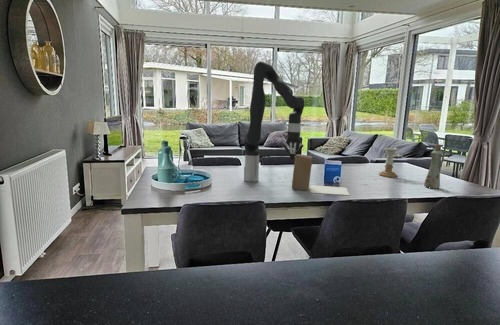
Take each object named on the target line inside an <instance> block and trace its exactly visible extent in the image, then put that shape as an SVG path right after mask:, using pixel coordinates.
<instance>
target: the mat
mask: <svg viewBox="0 0 500 325" xmlns="http://www.w3.org/2000/svg"><path fill="white" fill-rule="evenodd" d="M309 191H310V192H309V193H310V194H321V195H333V196H334V195H335V196H350V193H349V190H348V189H347V187H341V186H340V187H339V186H327V185H326V186H325V185H313V184H311V185H310V184H309Z"/></svg>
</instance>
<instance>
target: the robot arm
mask: <svg viewBox="0 0 500 325" xmlns="http://www.w3.org/2000/svg"><path fill="white" fill-rule="evenodd" d="M253 70H254V71H253V84H252V92H251V99H250V104H249V105H250V106H249V117H250V118H249V119H250V120H249V121H250V122H249V127H248V130H247V131H246V132H245V134H244V167H243V181H244V182H248V183H257V182H259V180H260V179H259V175H260V172H259V171H260V149H259V148H260V146H259V143H260V141H261V136H262V123H263V119H264V114H265V113H264V112H265V109H266V103H267V97H266V93H265V90H264V81H265V80H267V81H268V82H270V83H271V84H272V85H273V87H274V89H275V91H276V92H277V94H278V95H279V96H280V97H281V98H282V99H283V101H284V103H285V104H286V106H288V107H289V108H290V109H292V112H290V113H289V114H288V124H287V134H286V136H287V137H286V141H285V142H283V143H282V147H283V148H284V150H285V151H286V152H287V153H288V154H289V159H290V160H291V161H292V160H295V157H296V154H298V153H299V152H300V151H301V150H302V149H303V148H304V144H303V143H302V142H301V128H302V127H301V126H302V125H301V123H302V122H301V121H302V114H303V112H304V108H305V100H304V98H303V97H302V96H299V95H298V96H296V95H294V91H293V89H291V87H290V86H289V85H288V84H287V83H286V82H285V81H284V80H283V79H282V78H281V77H280V76H279V74H278V73H277V71H275V69H274V67H273V66H272V65H271V64H270V63H268V62H265V61H257V63H256V64H255V66H254V69H253ZM296 148H297V149H296Z"/></svg>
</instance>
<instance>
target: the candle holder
mask: <svg viewBox="0 0 500 325" xmlns="http://www.w3.org/2000/svg"><path fill="white" fill-rule="evenodd" d="M382 150H383V151H386V153H387V154H386V159H385V163H384V164H385V165H384V170H382V171H381V172H379V173H378V175H379V176H381V177H383V178H392V177H393V178H397V177H398V174H397V173H396V172H394V171H393V168H394V166H393V165H394V157H395V156H394V153H395V152H399V150H400V149H399V148H396V147H383V149H382Z"/></svg>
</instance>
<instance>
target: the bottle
mask: <svg viewBox="0 0 500 325" xmlns="http://www.w3.org/2000/svg"><path fill="white" fill-rule="evenodd" d="M441 148H442V145H441V144H439V143H438V144H435V146H434V150H433V151H431V153H430V154H431V156H430V157H431V158H430V159H431V160H430V161H431V162H430V166H429V169H428V172H427V175H426V177H425V180H424V183H423V185H424V187H425V186H426V187H425V188H427V187H430V188H429V189H439V188H440V186H441V182H440V181H441V175H440V174H441V173H440V163H441V159H442V157H443V151H441V150H442V149H441Z"/></svg>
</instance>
